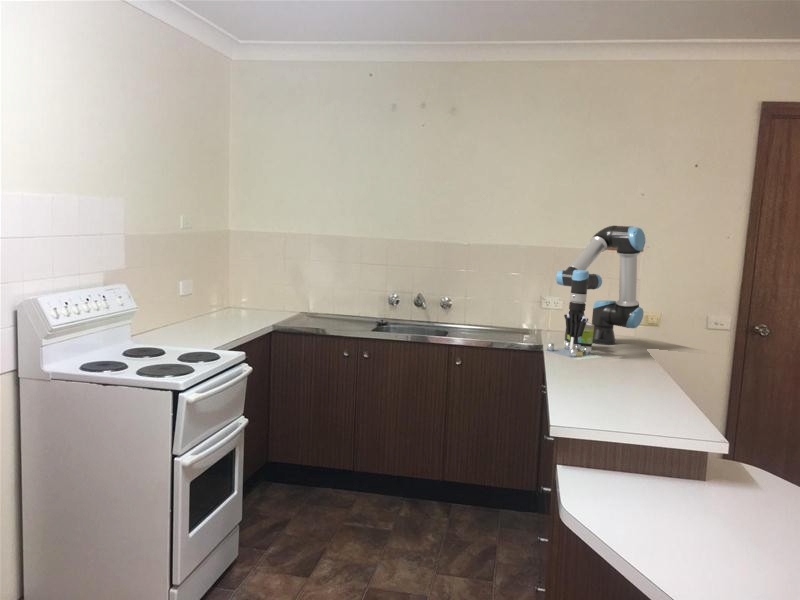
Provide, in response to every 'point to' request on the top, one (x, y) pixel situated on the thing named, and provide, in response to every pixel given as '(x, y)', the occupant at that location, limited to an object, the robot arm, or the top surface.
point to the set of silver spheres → (572, 351)
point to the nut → (579, 353)
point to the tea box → (584, 336)
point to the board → (567, 353)
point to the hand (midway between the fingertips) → (572, 350)
